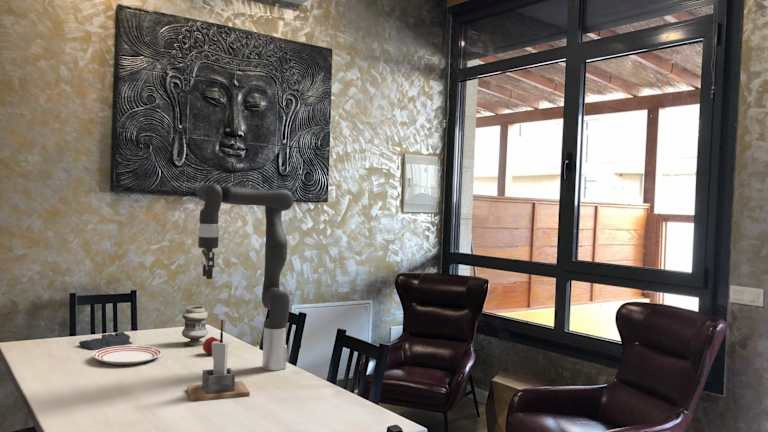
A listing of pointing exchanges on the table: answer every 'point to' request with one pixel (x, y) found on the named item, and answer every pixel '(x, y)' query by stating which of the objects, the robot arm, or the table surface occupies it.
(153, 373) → the table surface
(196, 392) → the phone dock
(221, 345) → the vintage mobile phone
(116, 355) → the dinner plate
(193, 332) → the apothecary jar
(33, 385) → the table surface
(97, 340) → the dark slate chunk
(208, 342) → the apple
